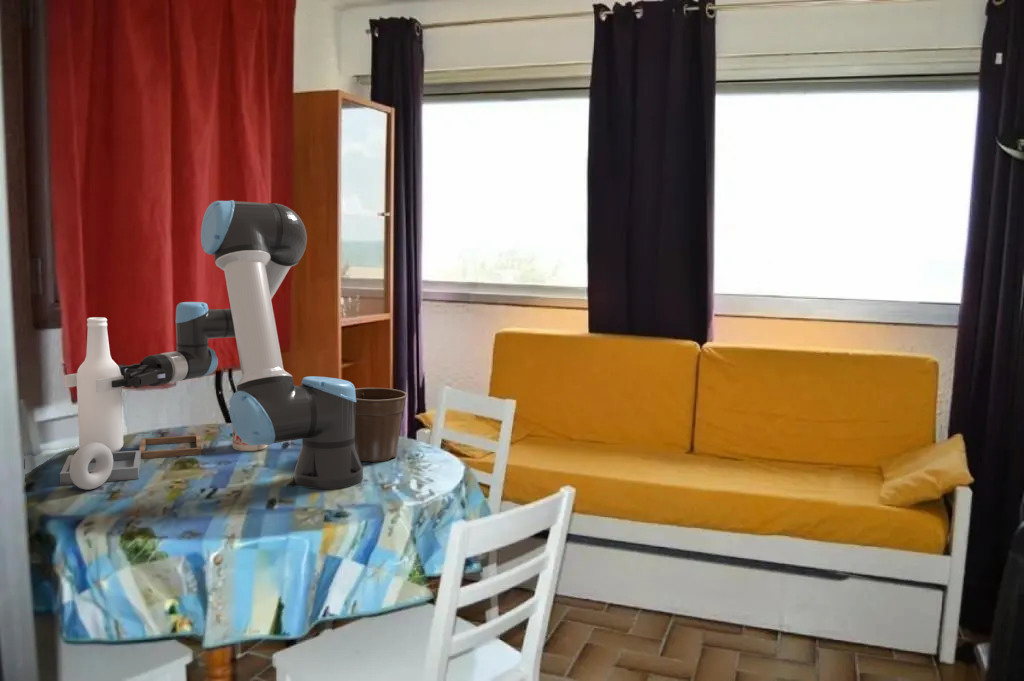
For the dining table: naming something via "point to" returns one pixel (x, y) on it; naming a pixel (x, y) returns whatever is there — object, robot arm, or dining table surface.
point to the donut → (82, 461)
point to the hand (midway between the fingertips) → (81, 383)
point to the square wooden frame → (170, 452)
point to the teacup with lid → (244, 444)
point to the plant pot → (378, 422)
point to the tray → (123, 469)
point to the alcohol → (99, 408)
